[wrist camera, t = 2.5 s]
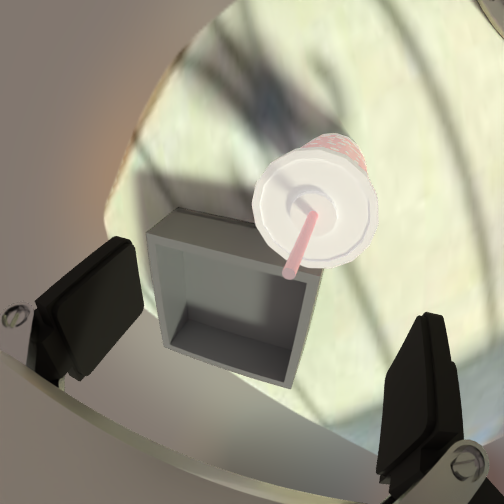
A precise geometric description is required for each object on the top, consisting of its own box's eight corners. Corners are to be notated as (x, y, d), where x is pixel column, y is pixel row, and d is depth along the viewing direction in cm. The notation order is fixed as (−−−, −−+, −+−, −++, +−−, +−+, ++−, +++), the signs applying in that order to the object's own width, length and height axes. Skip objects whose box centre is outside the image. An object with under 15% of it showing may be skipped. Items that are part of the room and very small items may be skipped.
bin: (177, 207, 29) (145, 232, 24) (330, 240, 25) (320, 276, 21) (185, 316, 36) (163, 346, 32) (302, 352, 33) (290, 389, 29)
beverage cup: (369, 209, 23) (358, 352, 12) (290, 196, 25) (211, 319, 13) (380, 129, 20) (399, 204, 8) (293, 117, 21) (199, 175, 10)
